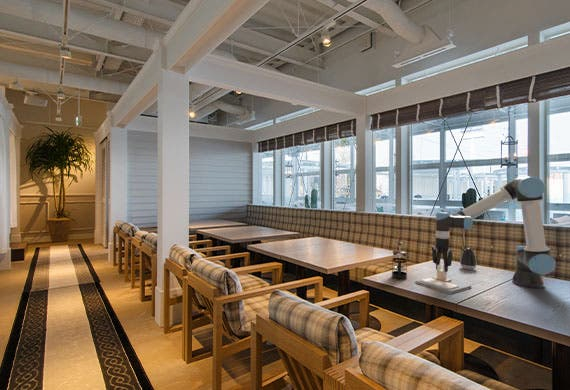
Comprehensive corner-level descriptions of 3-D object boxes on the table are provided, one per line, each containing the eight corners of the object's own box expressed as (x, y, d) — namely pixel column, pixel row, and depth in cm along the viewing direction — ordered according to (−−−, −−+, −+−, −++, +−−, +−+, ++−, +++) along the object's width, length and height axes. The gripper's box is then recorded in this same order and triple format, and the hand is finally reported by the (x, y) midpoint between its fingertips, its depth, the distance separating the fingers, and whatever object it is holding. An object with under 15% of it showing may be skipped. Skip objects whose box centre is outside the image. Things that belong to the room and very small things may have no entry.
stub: (451, 280, 194) (451, 271, 194) (445, 282, 191) (445, 272, 191) (437, 277, 202) (438, 267, 201) (431, 278, 198) (432, 269, 198)
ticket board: (471, 288, 186) (471, 284, 186) (450, 294, 176) (450, 289, 175) (436, 278, 205) (436, 274, 205) (415, 283, 194) (415, 279, 194)
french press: (407, 281, 199) (408, 244, 198) (391, 279, 202) (391, 243, 201) (406, 276, 210) (407, 240, 209) (391, 274, 213) (392, 240, 212)
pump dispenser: (456, 267, 233) (456, 246, 232) (469, 267, 234) (470, 246, 234) (465, 271, 223) (466, 249, 222) (479, 270, 224) (480, 249, 223)
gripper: (426, 236, 200) (426, 273, 201) (451, 240, 187) (450, 280, 187) (434, 235, 204) (433, 272, 205) (459, 239, 190) (458, 278, 191)
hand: (441, 276), depth 196 cm, fingers closed on stub, 3 cm apart
